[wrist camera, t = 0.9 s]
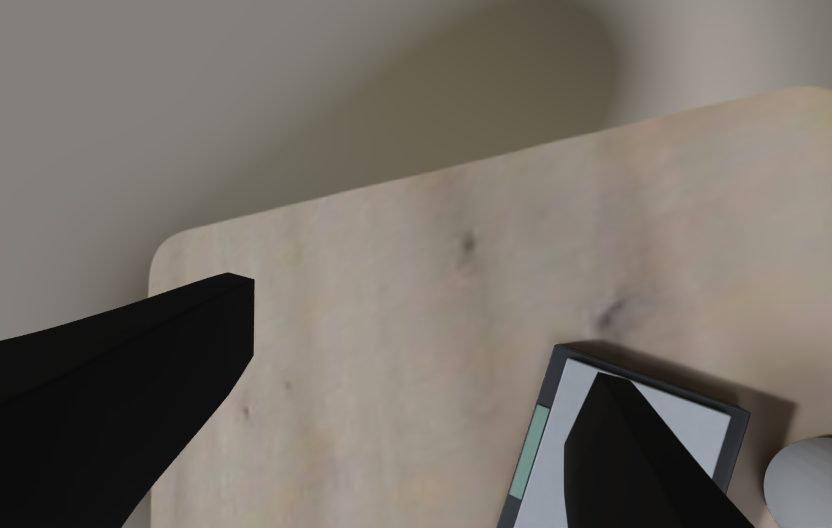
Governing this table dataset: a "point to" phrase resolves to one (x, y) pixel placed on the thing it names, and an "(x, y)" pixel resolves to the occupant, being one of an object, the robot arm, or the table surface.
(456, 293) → the table surface
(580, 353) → the scale
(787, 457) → the beverage can
